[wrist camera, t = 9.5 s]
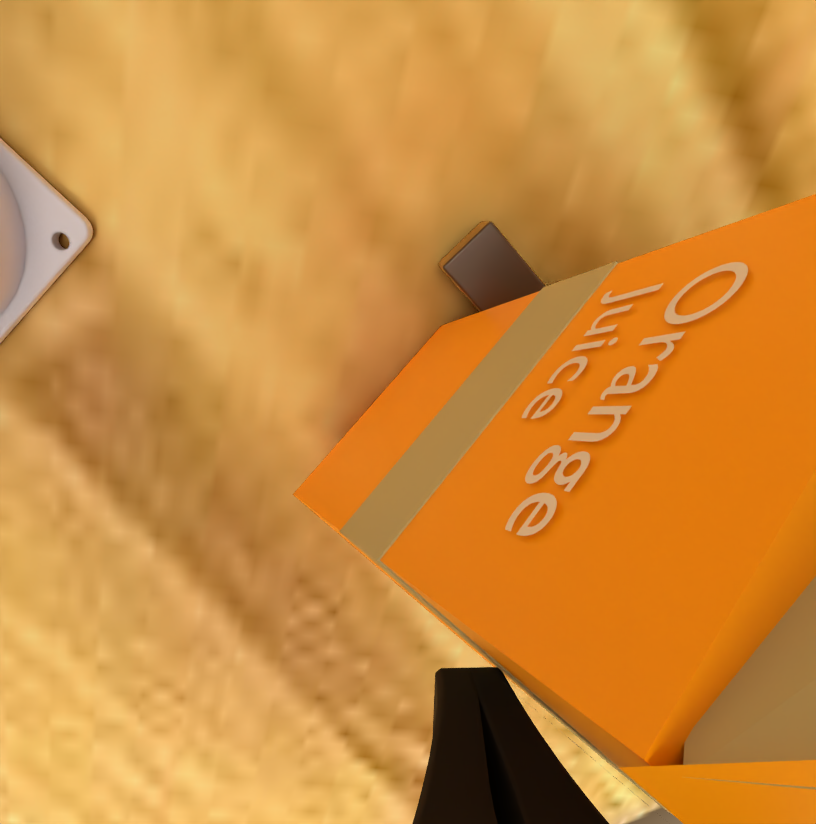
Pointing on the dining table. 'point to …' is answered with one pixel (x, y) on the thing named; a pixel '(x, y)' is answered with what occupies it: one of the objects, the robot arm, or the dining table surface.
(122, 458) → the dining table surface
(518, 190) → the dining table surface
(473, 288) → the walnut batten
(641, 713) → the orange juice
